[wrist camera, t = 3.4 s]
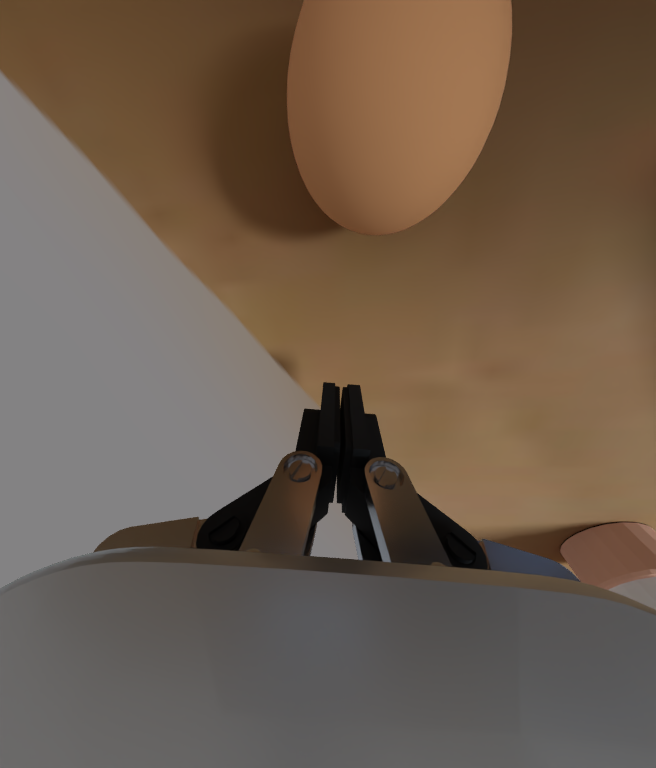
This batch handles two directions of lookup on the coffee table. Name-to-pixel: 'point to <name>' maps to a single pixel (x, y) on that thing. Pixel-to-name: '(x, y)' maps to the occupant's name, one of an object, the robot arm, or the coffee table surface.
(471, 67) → the ball
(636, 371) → the coffee table surface
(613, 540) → the salt shaker
